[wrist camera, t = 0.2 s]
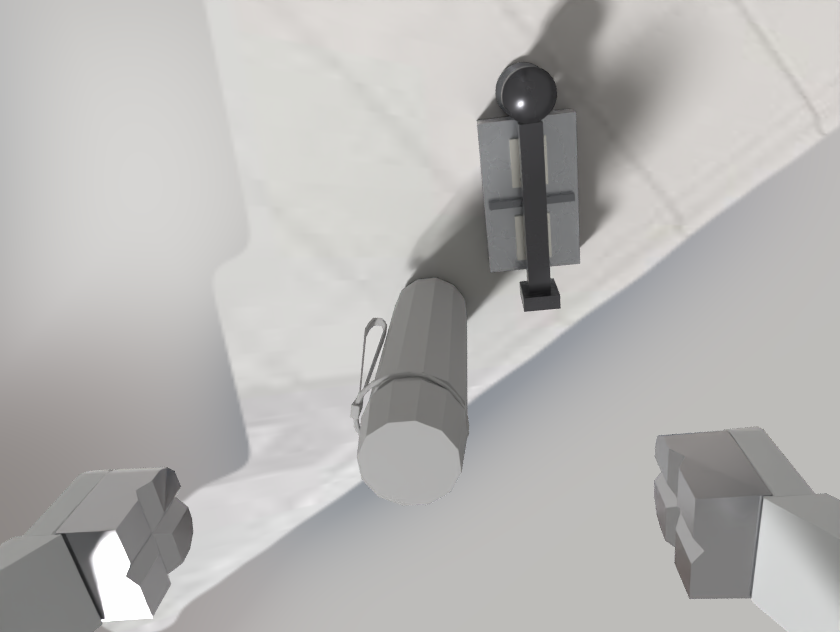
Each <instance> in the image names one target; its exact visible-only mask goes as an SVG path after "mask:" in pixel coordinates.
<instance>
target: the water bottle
mask: <svg viewBox="0 0 840 632" xmlns="http://www.w3.org/2000/svg"><path fill="white" fill-rule="evenodd" d="M373 326H382V328H383V330H384V331H383V334H382V336H381V339H380V342H379V345H378V348H377V351H376V354H375V357H374V359H373V362H372V365H371V368H370V371H369V374H368V377H367V379H366V382H365V385H364V388H363V390H361V383H362V373H363V363H364V352H365V342H366V336H367V334H368V332H369V330H370V329H371V328H372V327H373ZM386 330H387V324H386V322H385V321H384V320H383V319H382V318H373V319H372V320H371V321H370V322H369V323H368V325H367V327H366V328H365V334H364V344H363V356H362V368H361V380H360V391H359V393H358V396H357V398H356V400H355V401H354V402H353V404H352V405H351V415H350V417H351V418H353V419H354V428H355V430H356V432H357V433H358V435H359V443H358V452H357V460H358V464H359V469H360V474H361V478H362V480H363V481H364V482H365V483H366V484H367V485H368V486H369V487H370V488H371V489H372V490H373V491H374V492H375V494H376V495H378V497H381V498H383V499H386V500H389V501H391V502H394V503H397V504H400V505H402V506H409V505H425V504H431V503H432V502H434V501H436V500H438V499H439V498H441V497H443V496H445V495H446V494H448V493H450V492H451V491H452V489H453V487H454V485H455V483H456V481H457V480H458V478H459V476H460V474H461V472H462V466H463V460H464V454H465V447H466V441H467V437H468V435H469V422H468V416H467V313H466V305H465V299H464V297H463V296H462V295H461V294H460V292H459V291H458V290H457V289H456V287H455V286H454V285H453V284H450V283H448V282H445V281H443V280H441V279H438V278H427V279H418V280H415V281H414V282H413V283H411V284H410V285H408V286H407V287H406V288H404V289H403V290H402V291H401V293H400V296H399V298H398V300H397V303H396V305H395V308H394V312H393V315H392V319H391V322H390V326H389V330H388V333H387V337H386V341H385V344H384V348H383V351H382V355H381V359H380V362H379V366H378V369H377V373H376V377H375V380H373V381H372V382H371V383H370V384H368V383H369V380H370V378H371V375H372V372H373V369H374V367H375V364H376V361H377V358H378V356H379V353H380V350H381V347H382V345H383V342H384V339H385V336H386ZM371 388H372V391H371V395H370V398H369V402H368V404H367V406H366V408H365V411H364V413H363V415H362V418H361V425H359V419H358V418H359V415H360V412H361V410H362V406H363V397H364V395H365V394H366V393H367V392H368V391H369V390H370V389H371Z"/></svg>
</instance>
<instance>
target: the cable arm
mask: <svg viewBox="0 0 840 632" xmlns="http://www.w3.org/2000/svg"><path fill="white" fill-rule="evenodd" d="M556 97H557V90H556V85H555V82H554V80H553V78H552V77H551V76H550V74H549V73H547V72H546V71H545V70H543V69H541V68H538V67H533V66H524V67H521V68H518V69H516V70H514V71H513V72H512V73H511V74H510V75H509V76H508V77H507V78H506V80H505V81H504V83H503V86H502V90H501V101H502V104H503V107H504V109H505V110H506V112H507V113H508V115H509V116H510V117H511V118H513V119H514V120H516V121H517V129H518V144H519V160H520V176H521V192H522V207H523V223H524V239H525V255H526V270H527V281H522V282H520V295H521V299H522V304H523V308H524V312H526V311H537V310H548V309H559V308H560V294H559V291H558V289H557V286H556V283H555V281H554V278H553V279H550V261H549V240H548V219H547V198H546V177H545V156H544V134H543V122H542V121H541V120H542V119H544V118H545V117H546V116H547V115H548V114H549V113H550V112H551V110H552V109H553V107H554V105H555V102H556Z"/></svg>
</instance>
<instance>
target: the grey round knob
mask: <svg viewBox="0 0 840 632" xmlns="http://www.w3.org/2000/svg"><path fill="white" fill-rule="evenodd" d="M524 66H533V67H538V66H536V65H534V64H532V63H528V62H519V63H515V64H512V65H511V66H509V67H507V68H506V69H505V70H504V71H503V72H502V73H501V75H500V77H499V78H498V81H497V84H496V99H497V102H498V104H499V106H500V107H501V109H502V110H503V111H504V112H505V113H507V112H506V110H505V109H504V107H503V104H502V101H501V90H502V86H503V83H504V81H505V80H506V78H507V77H508V76H509V75H510V74H511V73H512V72H513V71H514V70H516V69H518V68H521V67H524ZM538 68H539V67H538ZM507 114H508V113H507Z"/></svg>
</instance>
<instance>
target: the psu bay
mask: <svg viewBox="0 0 840 632" xmlns="http://www.w3.org/2000/svg"><path fill="white" fill-rule="evenodd" d="M541 121H542V122H543V134H544V156H545V177H546V198H547V219H548V240H549V261H550V266H560V265H570V264H580V242H579V205H578V167H577V130H576V112H575V111H574V110H572V109H563V110H555V111H551V112H550V113H549V114H548V115H547V116H546V117H545V118H544V119H542V120H541ZM477 130H478V141H479V152H480V164H481V175H482V186H483V198H484V209H485V220H486V231H487V243H488V254H489V265H490V272H499V271H509V270H520V269H526V255H525V239H524V223H523V207H522V192H521V176H520V160H519V144H518V129H517V121H516V120H514V119H513V118H511V117H510V116H508V117H500V118H493V119H485V120H477Z"/></svg>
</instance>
